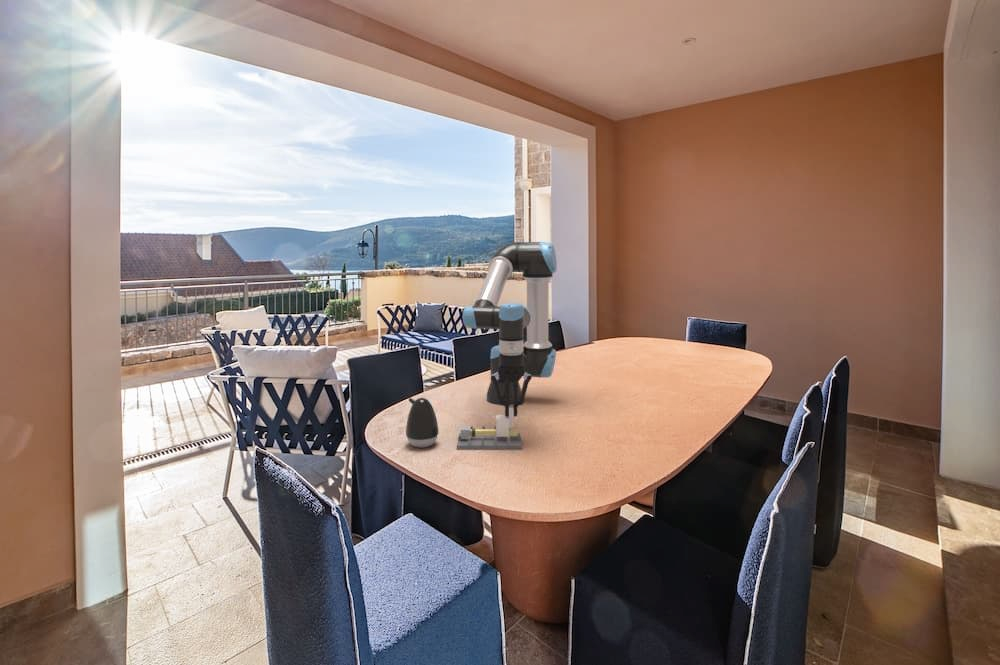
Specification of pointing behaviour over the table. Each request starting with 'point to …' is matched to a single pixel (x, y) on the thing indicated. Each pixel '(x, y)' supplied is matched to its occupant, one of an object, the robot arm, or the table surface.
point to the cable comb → (487, 439)
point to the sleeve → (502, 426)
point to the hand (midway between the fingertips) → (511, 425)
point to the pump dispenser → (421, 424)
